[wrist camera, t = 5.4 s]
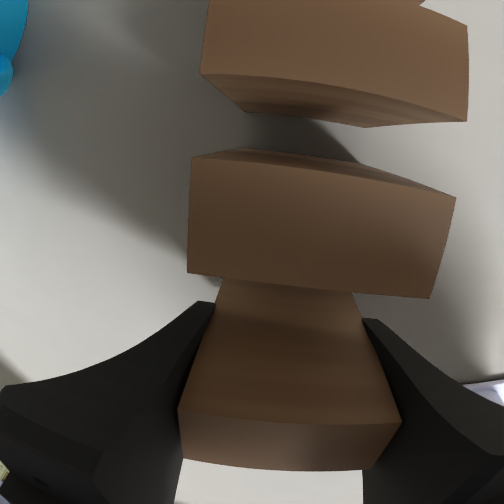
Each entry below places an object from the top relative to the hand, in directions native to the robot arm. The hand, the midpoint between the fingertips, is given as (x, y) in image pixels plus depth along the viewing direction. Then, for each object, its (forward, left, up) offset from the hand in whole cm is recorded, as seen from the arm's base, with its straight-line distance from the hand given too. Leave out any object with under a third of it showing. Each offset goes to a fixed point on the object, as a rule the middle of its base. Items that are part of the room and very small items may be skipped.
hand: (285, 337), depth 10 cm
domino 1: (+8, 0, -4) cm, 9 cm away
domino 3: (0, 0, -3) cm, 3 cm away
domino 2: (+5, 0, -4) cm, 6 cm away
